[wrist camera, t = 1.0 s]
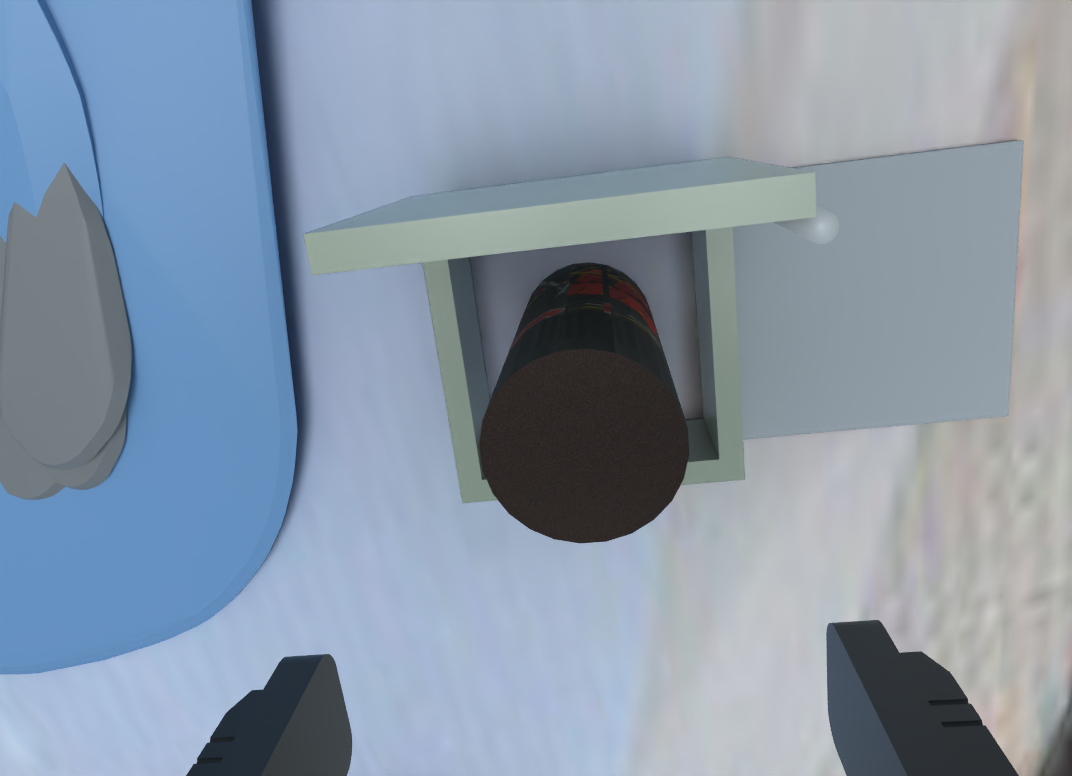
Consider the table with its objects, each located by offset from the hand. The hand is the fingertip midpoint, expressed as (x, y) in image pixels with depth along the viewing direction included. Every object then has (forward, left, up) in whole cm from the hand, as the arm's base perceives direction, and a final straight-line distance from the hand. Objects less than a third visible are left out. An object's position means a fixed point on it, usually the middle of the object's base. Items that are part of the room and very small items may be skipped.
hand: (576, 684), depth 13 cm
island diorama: (-6, -34, -26) cm, 43 cm away
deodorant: (0, 0, -25) cm, 25 cm away
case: (0, 0, -25) cm, 25 cm away
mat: (0, +13, -25) cm, 28 cm away
